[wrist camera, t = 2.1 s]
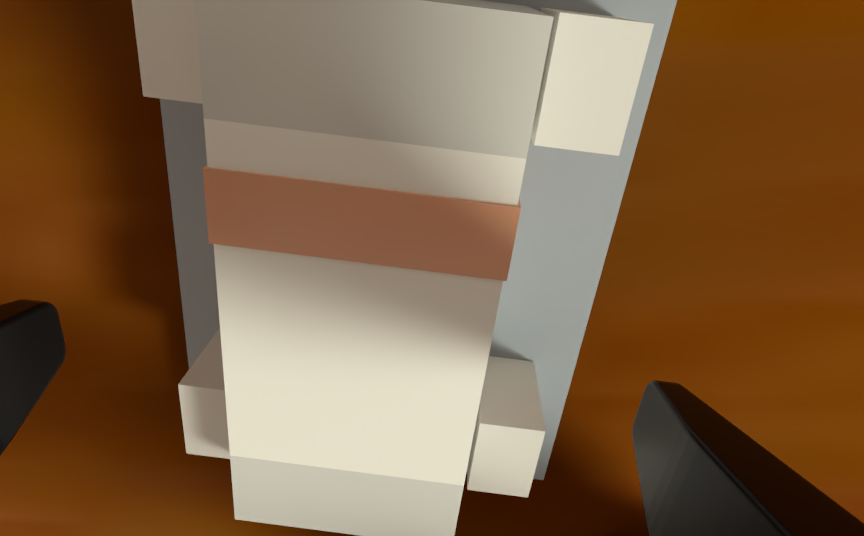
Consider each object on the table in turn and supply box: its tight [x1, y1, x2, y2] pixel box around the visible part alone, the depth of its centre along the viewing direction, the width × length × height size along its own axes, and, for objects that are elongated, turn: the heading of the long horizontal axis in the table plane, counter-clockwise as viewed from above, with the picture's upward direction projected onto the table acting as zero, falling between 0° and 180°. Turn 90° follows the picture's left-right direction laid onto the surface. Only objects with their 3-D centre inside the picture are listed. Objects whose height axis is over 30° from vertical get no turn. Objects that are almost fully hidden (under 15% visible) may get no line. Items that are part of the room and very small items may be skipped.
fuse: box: [195, 0, 554, 536], centre depth 11 cm, size 10×5×4 cm, turn 174°
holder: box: [132, 0, 677, 498], centre depth 12 cm, size 14×10×4 cm
